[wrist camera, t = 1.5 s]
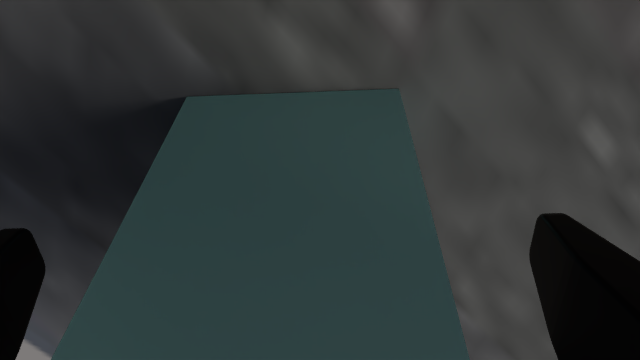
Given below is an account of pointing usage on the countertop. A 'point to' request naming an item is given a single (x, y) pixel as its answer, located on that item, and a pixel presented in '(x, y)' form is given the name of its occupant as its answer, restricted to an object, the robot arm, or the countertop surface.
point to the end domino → (275, 241)
